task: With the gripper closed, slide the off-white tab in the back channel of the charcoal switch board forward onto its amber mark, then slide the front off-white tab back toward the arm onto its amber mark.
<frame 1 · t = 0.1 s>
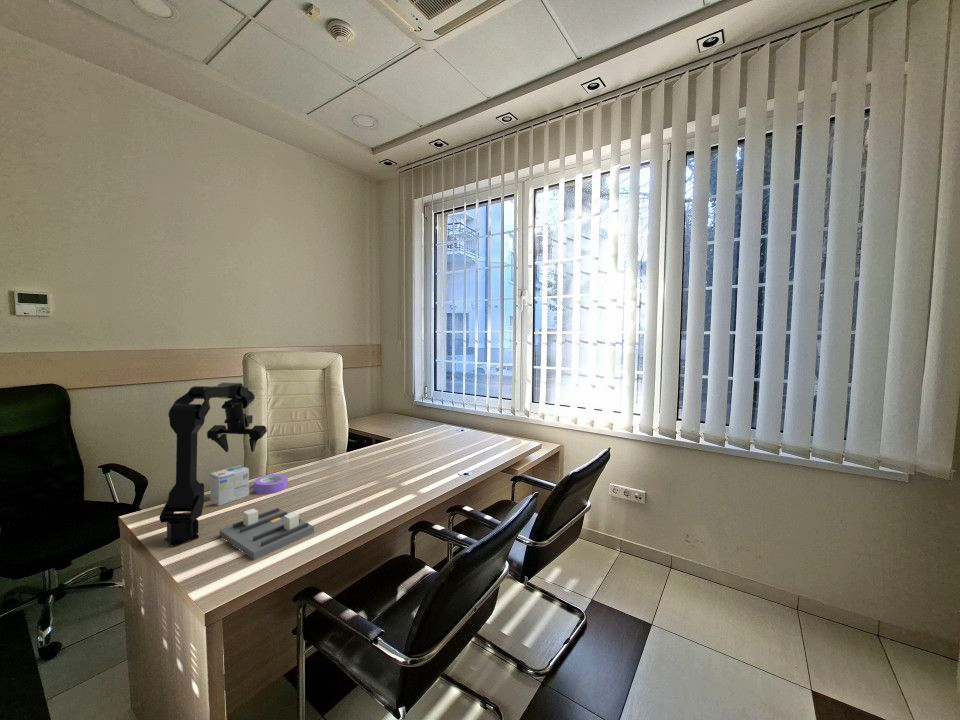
hand: (240, 451, 146), 15 cm above the table, tool pointing down, fingers open, 9 cm apart
switch board: (267, 534, 117), on the table
light bulb box: (229, 499, 140), on the table
tab a: (250, 517, 118), point 4 cm above the table, slide at 0.0 cm
tab b: (291, 521, 117), point 4 cm above the table, slide at 6.0 cm
masking tape: (271, 489, 151), on the table
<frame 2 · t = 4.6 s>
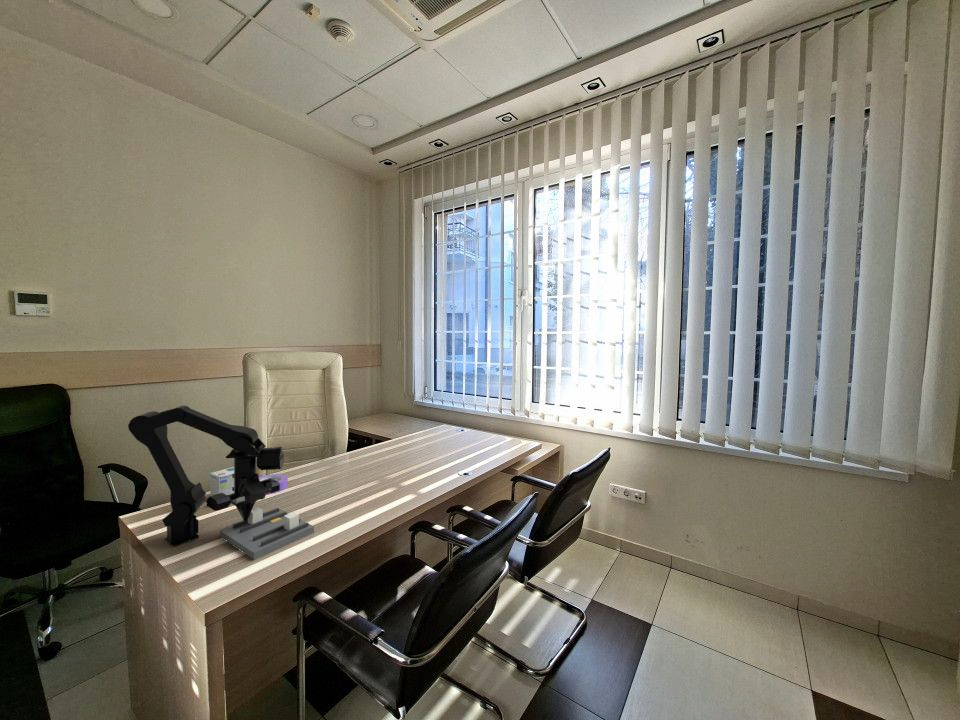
hand: (245, 520, 117), 4 cm above the table, tool pointing down, fingers closed
tab a: (255, 516, 119), point 4 cm above the table, slide at 1.4 cm, touching gripper
everything else where it was.
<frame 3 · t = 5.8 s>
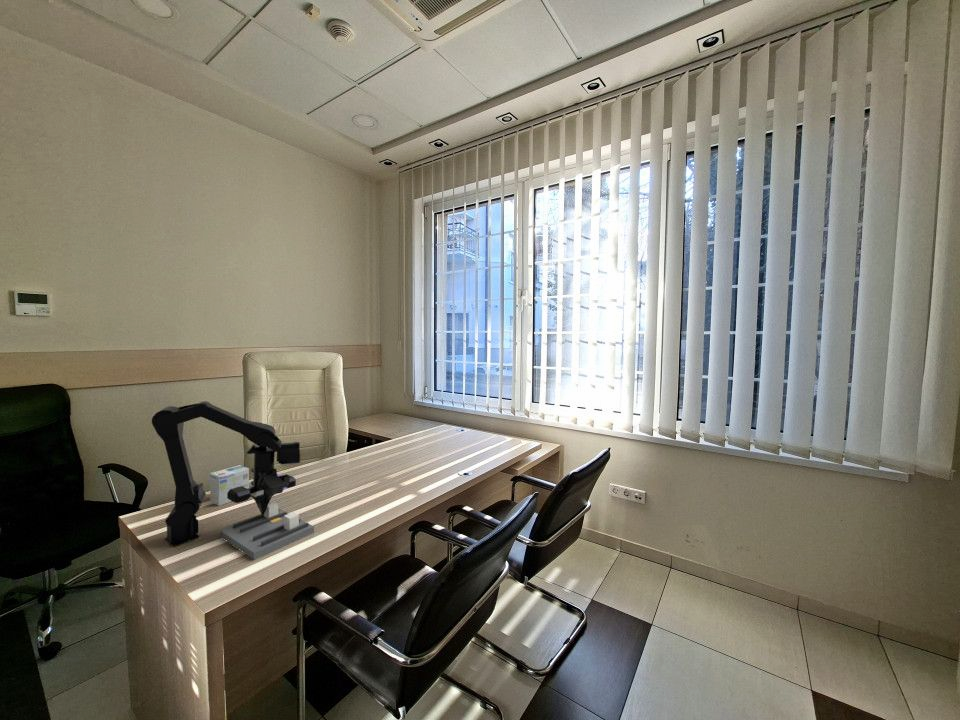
hand: (262, 514, 121), 4 cm above the table, tool pointing down, fingers closed
tab a: (271, 510, 123), point 4 cm above the table, slide at 6.3 cm, touching gripper
everything else where it was.
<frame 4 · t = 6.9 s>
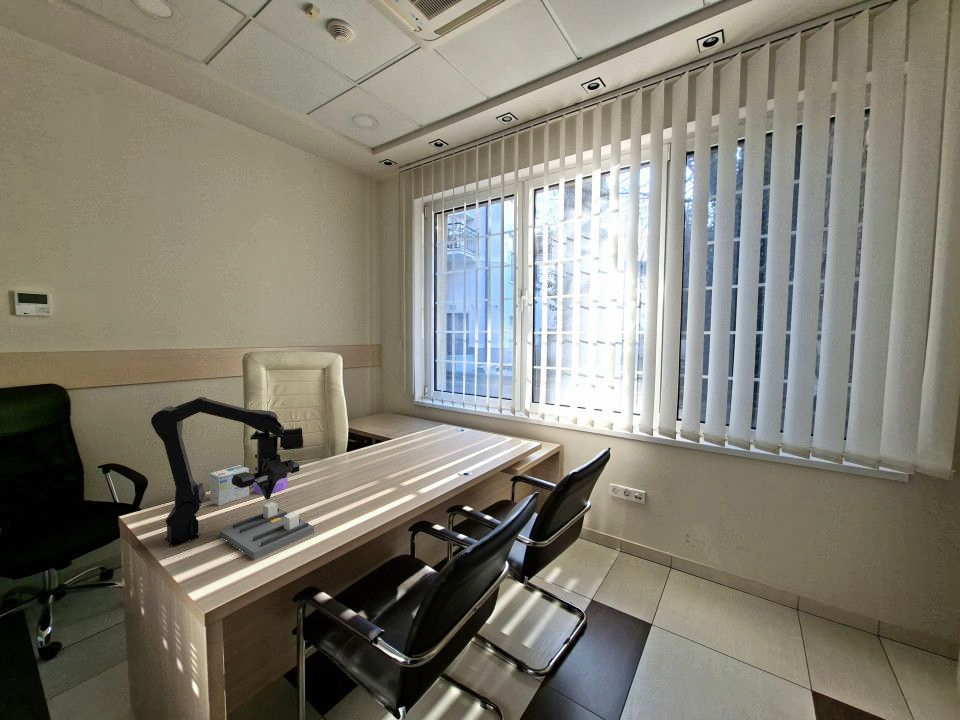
hand: (267, 499, 122), 8 cm above the table, tool pointing down, fingers closed
tab a: (270, 510, 123), point 4 cm above the table, slide at 6.1 cm
everything else where it was.
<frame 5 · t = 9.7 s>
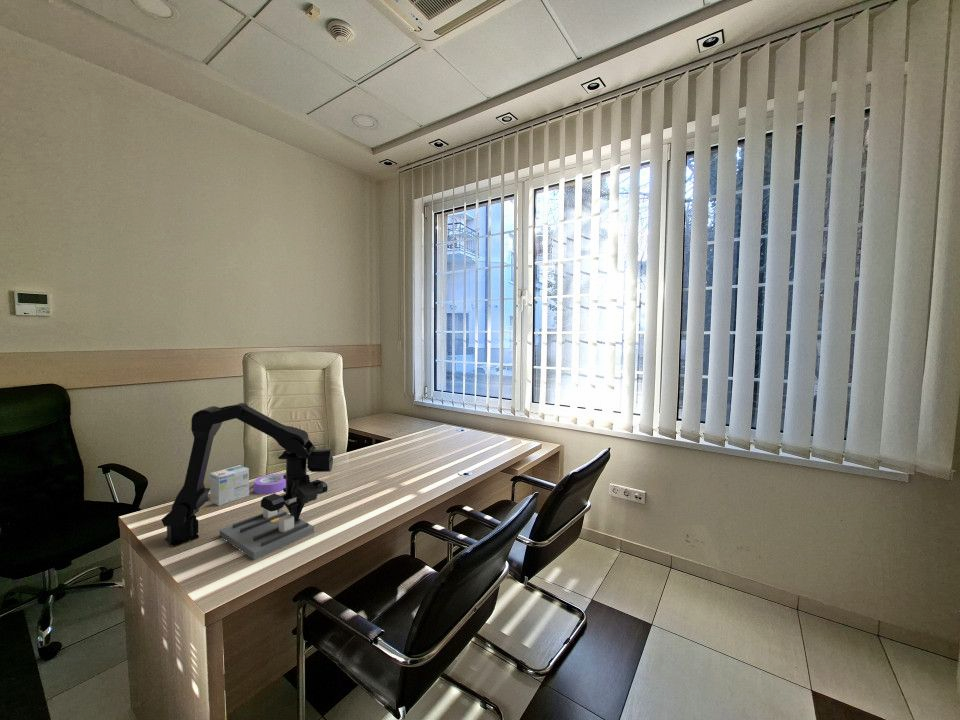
hand: (295, 521, 118), 4 cm above the table, tool pointing down, fingers closed
tab b: (286, 523, 115), point 4 cm above the table, slide at 4.4 cm, touching gripper
everything else where it was.
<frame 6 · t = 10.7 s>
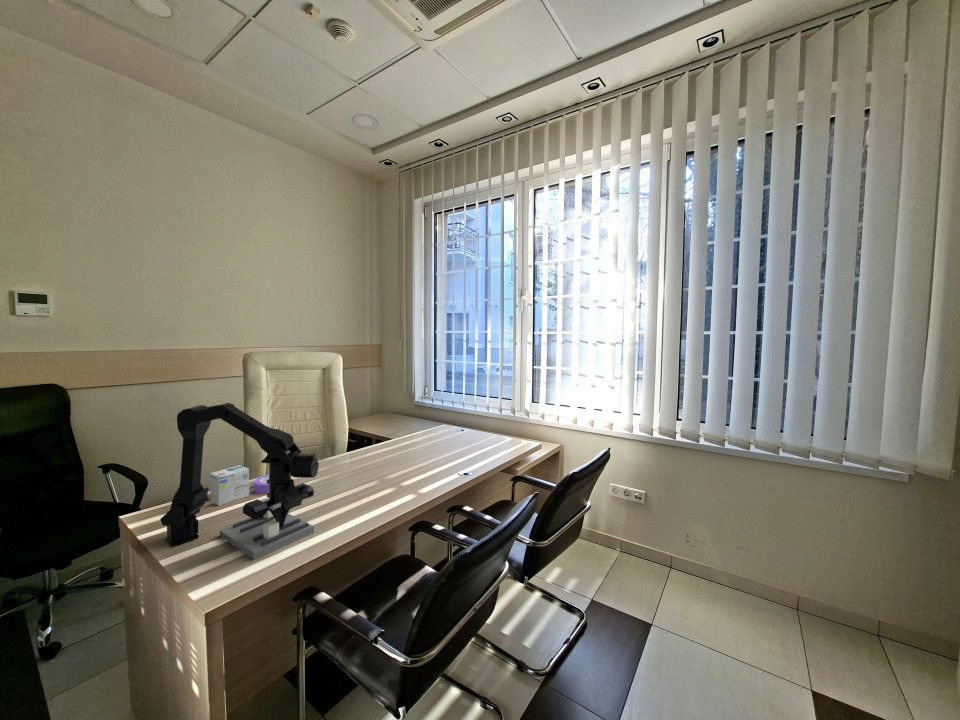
hand: (280, 527, 114), 4 cm above the table, tool pointing down, fingers closed
tab b: (271, 530, 111), point 4 cm above the table, slide at -0.2 cm, touching gripper
everything else where it was.
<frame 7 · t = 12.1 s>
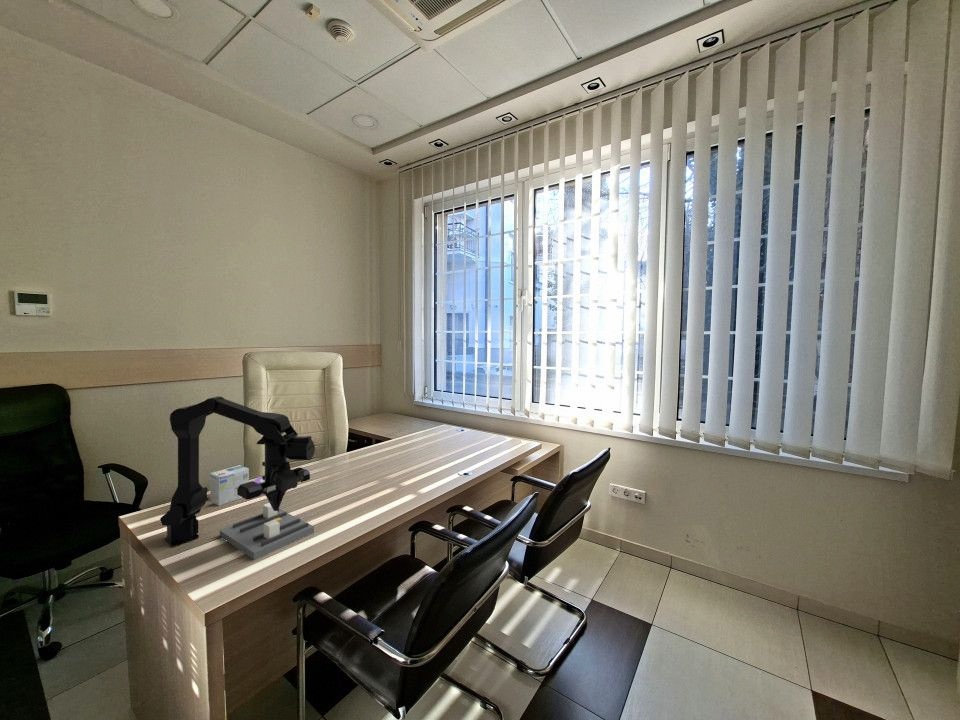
hand: (275, 510, 112), 10 cm above the table, tool pointing down, fingers closed
tab b: (271, 529, 112), point 4 cm above the table, slide at -0.1 cm
everything else where it was.
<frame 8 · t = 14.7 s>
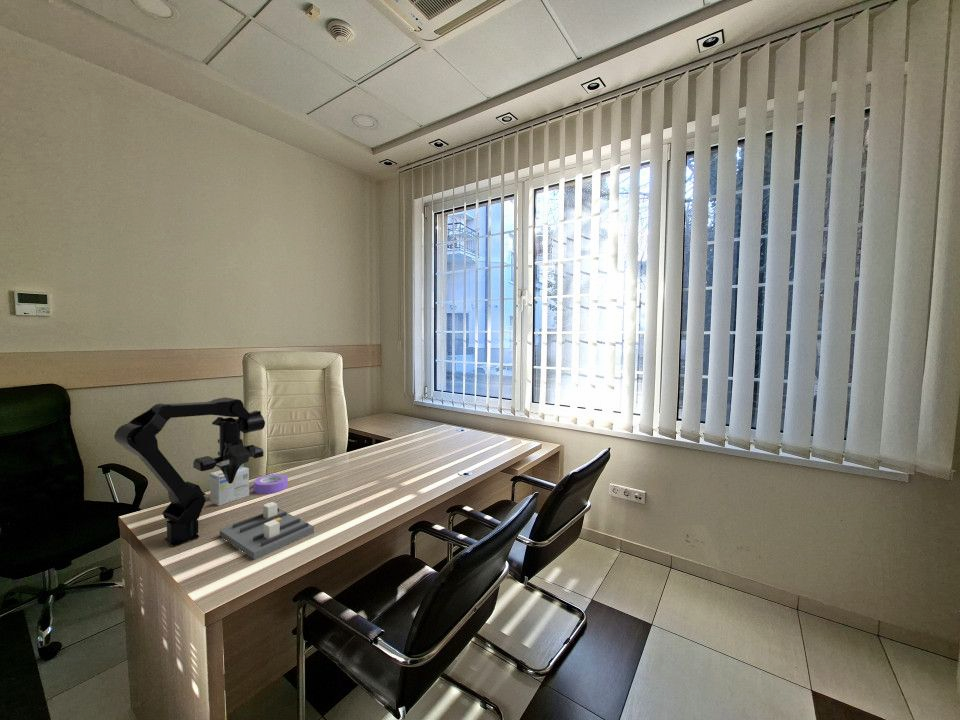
hand: (230, 483, 125), 12 cm above the table, tool pointing down, fingers closed
nothing on the table moved.
at the end: tab a slide at 6.1 cm; tab b slide at -0.1 cm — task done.
